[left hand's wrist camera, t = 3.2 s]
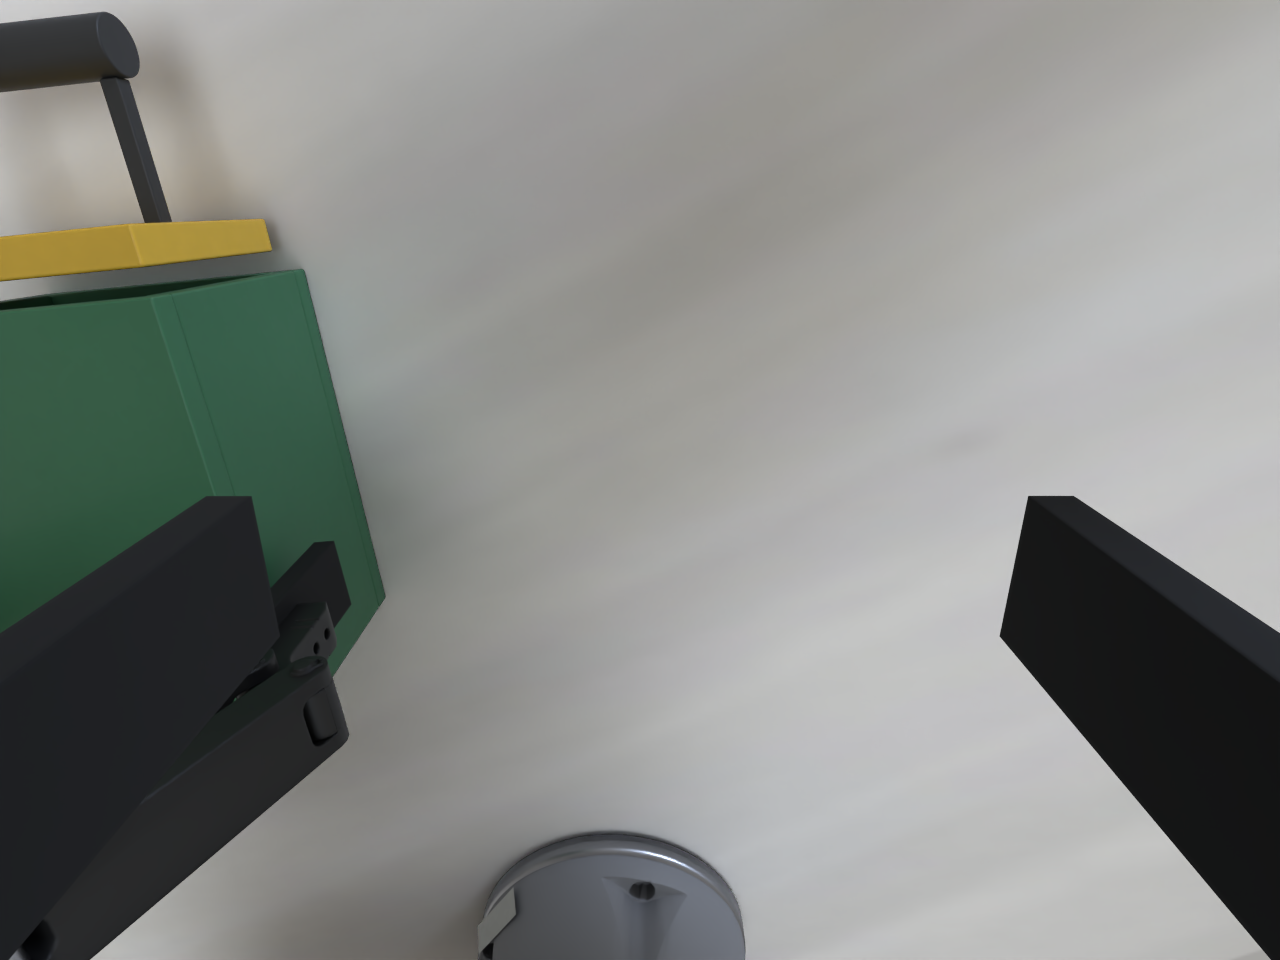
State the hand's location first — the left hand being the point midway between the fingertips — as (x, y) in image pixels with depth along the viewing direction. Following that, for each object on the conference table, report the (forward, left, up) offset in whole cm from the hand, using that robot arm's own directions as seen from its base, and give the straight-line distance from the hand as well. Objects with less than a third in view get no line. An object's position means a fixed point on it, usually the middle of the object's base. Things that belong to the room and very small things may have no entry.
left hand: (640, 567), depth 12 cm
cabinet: (+9, -17, -19) cm, 27 cm away
